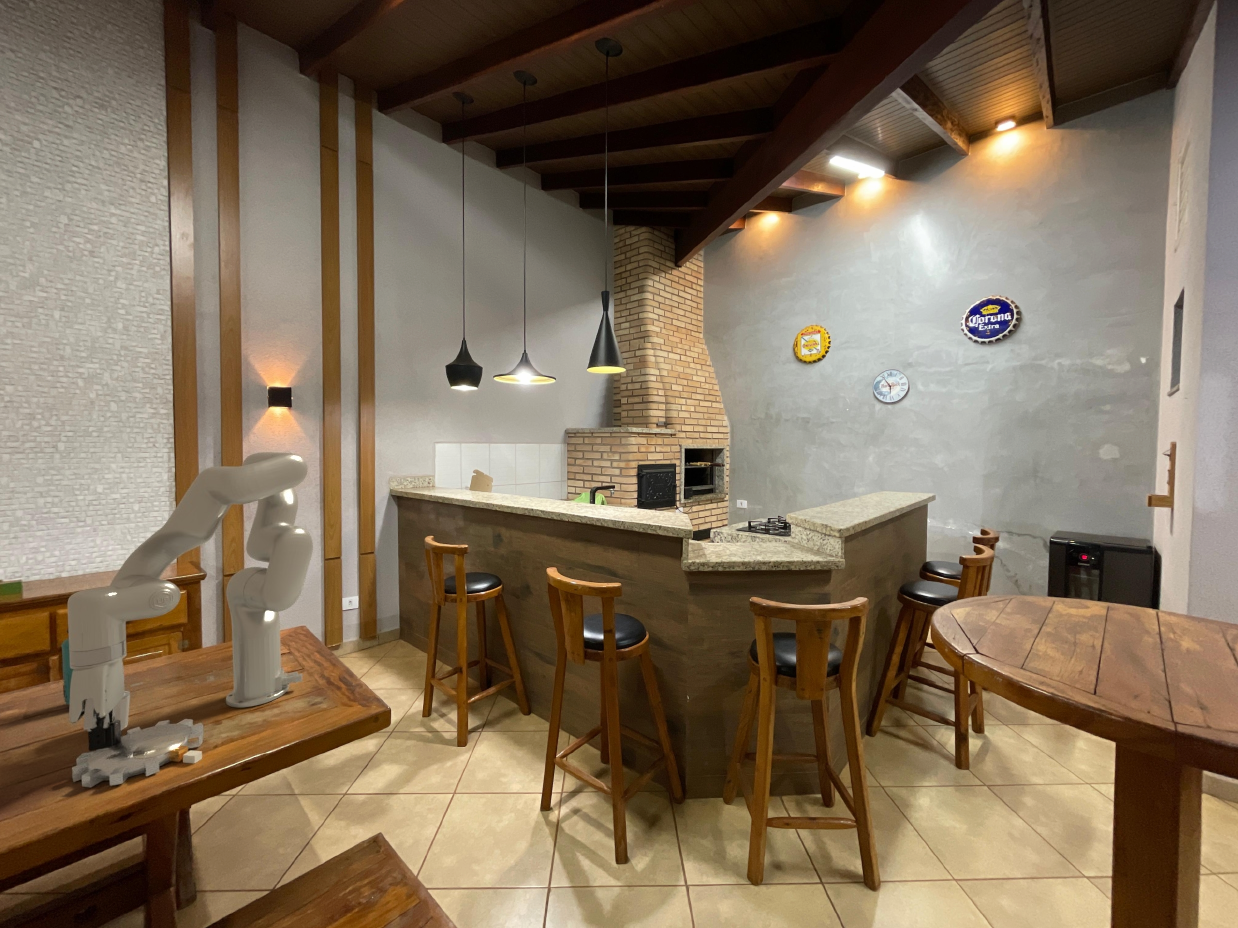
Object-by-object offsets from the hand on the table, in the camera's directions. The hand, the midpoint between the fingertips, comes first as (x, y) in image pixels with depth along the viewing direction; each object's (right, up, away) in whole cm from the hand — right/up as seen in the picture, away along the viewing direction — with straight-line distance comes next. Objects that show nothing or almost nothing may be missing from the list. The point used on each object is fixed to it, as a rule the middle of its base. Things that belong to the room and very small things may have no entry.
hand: (102, 746), depth 96 cm
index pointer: (+16, -3, +1) cm, 17 cm away
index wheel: (+6, -3, +2) cm, 7 cm away
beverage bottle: (-28, -3, +22) cm, 36 cm away
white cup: (-11, -3, +12) cm, 16 cm away
